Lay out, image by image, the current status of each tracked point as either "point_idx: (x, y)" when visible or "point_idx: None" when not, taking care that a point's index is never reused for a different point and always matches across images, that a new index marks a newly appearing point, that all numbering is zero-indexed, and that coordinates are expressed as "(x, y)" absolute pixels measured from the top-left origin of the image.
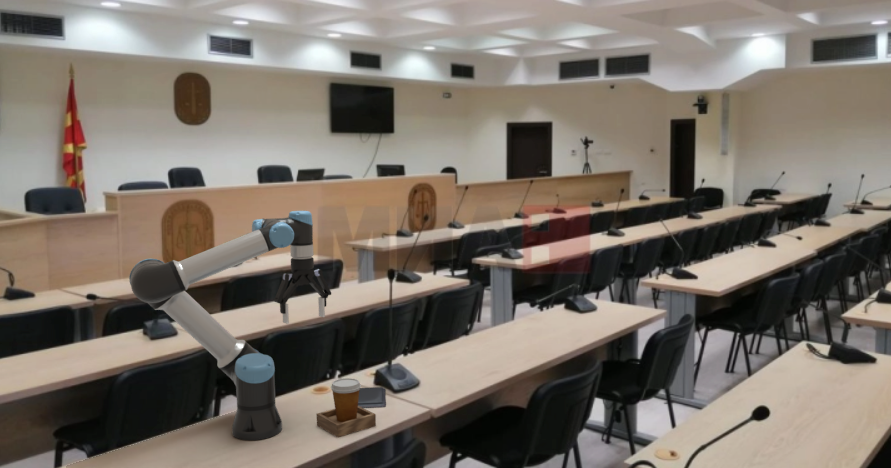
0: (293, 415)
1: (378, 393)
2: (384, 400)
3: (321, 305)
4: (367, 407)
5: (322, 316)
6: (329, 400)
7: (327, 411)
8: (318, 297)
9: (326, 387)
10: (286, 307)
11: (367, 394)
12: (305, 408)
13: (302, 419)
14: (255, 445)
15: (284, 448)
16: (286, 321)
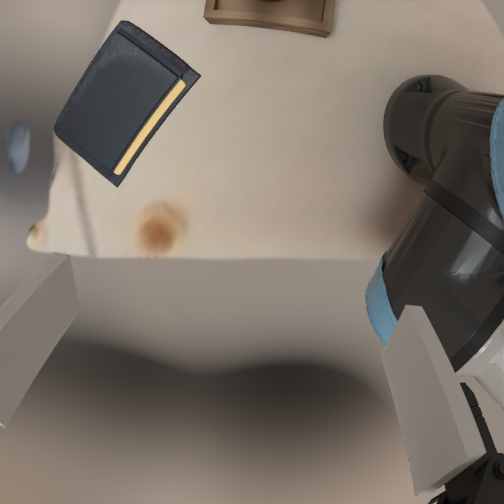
0: (321, 135)
1: (85, 90)
2: (98, 55)
3: (17, 336)
4: (154, 39)
5: (67, 264)
6: (187, 152)
7: (297, 21)
8: (4, 425)
9: (141, 234)
10: (472, 423)
11: (106, 100)
12: (268, 151)
13: (324, 95)
14: (474, 77)
15: (448, 15)
16: (425, 321)
